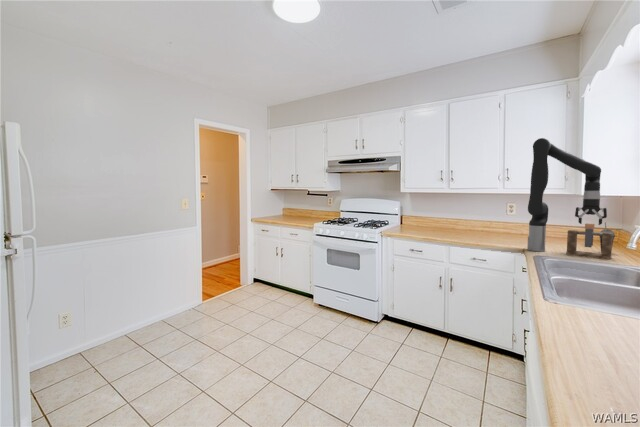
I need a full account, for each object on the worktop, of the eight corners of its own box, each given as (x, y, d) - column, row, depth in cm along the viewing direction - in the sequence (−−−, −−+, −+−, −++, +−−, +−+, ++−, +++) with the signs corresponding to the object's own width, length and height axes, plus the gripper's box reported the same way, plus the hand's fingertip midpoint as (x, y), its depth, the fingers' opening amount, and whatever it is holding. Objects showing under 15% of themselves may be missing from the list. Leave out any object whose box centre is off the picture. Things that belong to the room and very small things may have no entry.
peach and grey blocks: (583, 246, 178) (584, 224, 177) (585, 244, 184) (586, 223, 183) (592, 247, 175) (593, 224, 174) (593, 245, 181) (595, 223, 180)
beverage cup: (616, 254, 182) (618, 223, 180) (601, 253, 184) (603, 222, 183) (610, 252, 188) (611, 222, 187) (595, 251, 191) (597, 221, 190)
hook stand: (566, 254, 184) (567, 231, 183) (568, 252, 191) (569, 229, 190) (610, 259, 169) (611, 234, 168) (611, 256, 176) (612, 232, 175)
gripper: (575, 198, 180) (573, 224, 181) (607, 198, 170) (605, 225, 171) (576, 198, 185) (575, 223, 186) (608, 198, 175) (606, 224, 176)
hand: (589, 224), depth 179 cm, fingers open, 8 cm apart
